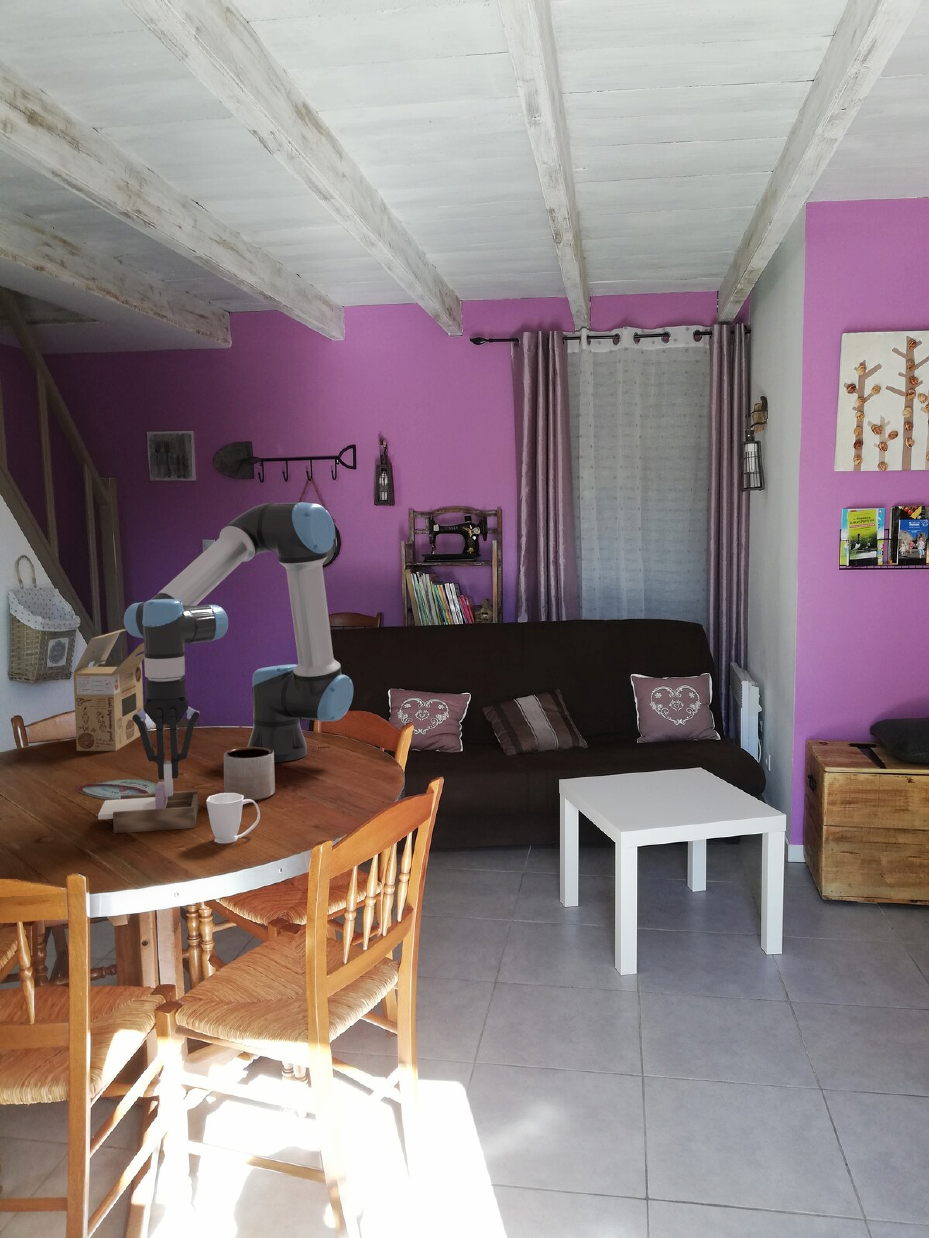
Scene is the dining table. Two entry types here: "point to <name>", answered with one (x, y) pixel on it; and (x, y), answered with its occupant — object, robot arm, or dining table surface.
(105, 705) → the box
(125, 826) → the pencil case
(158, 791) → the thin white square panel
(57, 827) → the dining table surface
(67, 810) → the dining table surface
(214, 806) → the cup
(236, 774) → the planter
